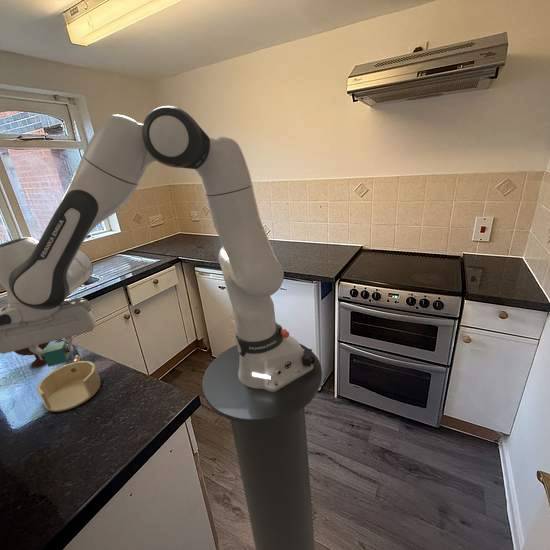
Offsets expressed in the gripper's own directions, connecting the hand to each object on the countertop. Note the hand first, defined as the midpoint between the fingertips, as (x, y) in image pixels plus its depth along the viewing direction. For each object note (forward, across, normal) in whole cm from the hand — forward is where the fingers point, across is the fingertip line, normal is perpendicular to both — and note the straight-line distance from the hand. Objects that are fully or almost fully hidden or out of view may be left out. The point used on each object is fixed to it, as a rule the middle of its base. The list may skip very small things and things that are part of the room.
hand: (57, 354), depth 76 cm
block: (+2, 0, 0) cm, 2 cm away
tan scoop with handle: (+18, +2, -11) cm, 21 cm away
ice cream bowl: (+18, +16, -33) cm, 41 cm away
